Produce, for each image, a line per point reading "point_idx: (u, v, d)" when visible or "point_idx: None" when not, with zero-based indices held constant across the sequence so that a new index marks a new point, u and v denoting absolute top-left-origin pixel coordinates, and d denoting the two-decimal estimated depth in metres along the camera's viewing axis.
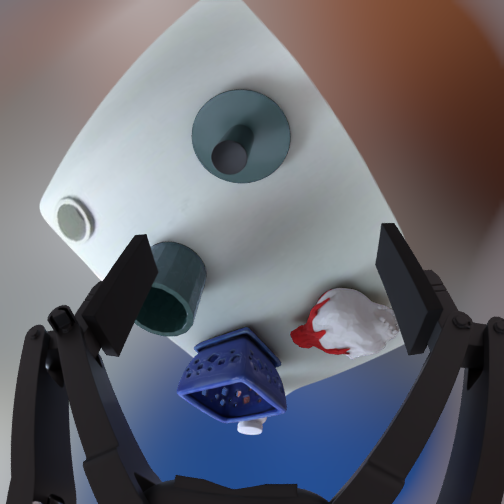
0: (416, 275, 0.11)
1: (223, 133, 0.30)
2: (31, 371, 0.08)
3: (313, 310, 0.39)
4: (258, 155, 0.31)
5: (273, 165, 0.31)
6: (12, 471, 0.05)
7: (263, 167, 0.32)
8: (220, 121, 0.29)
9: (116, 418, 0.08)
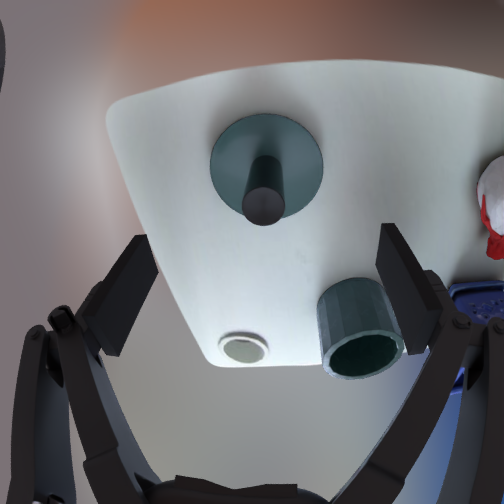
0: (416, 275, 0.11)
1: None
2: (31, 371, 0.08)
3: (483, 219, 0.24)
4: (295, 163, 0.26)
5: (315, 155, 0.26)
6: (12, 471, 0.05)
7: (311, 166, 0.26)
8: (238, 178, 0.28)
9: (116, 418, 0.08)
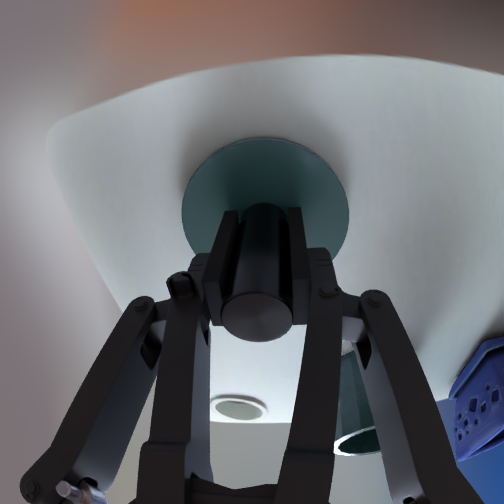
0: (297, 249, 0.13)
1: None
2: (121, 347, 0.09)
3: None
4: (308, 214, 0.18)
5: (338, 203, 0.17)
6: (54, 441, 0.06)
7: (331, 218, 0.18)
8: None
9: (200, 407, 0.08)
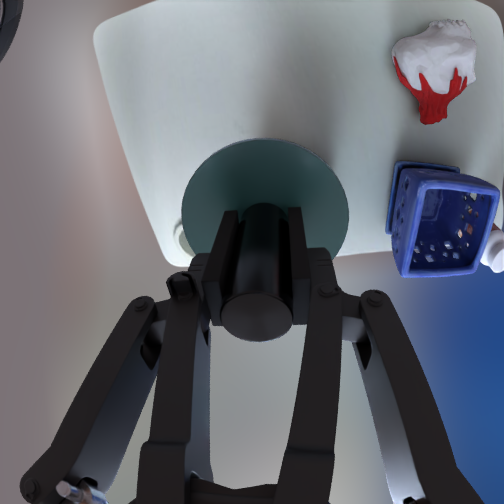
0: (297, 249, 0.13)
1: None
2: (121, 348, 0.09)
3: (400, 78, 0.27)
4: (308, 214, 0.18)
5: (338, 203, 0.17)
6: (54, 441, 0.06)
7: (331, 218, 0.18)
8: None
9: (200, 407, 0.08)
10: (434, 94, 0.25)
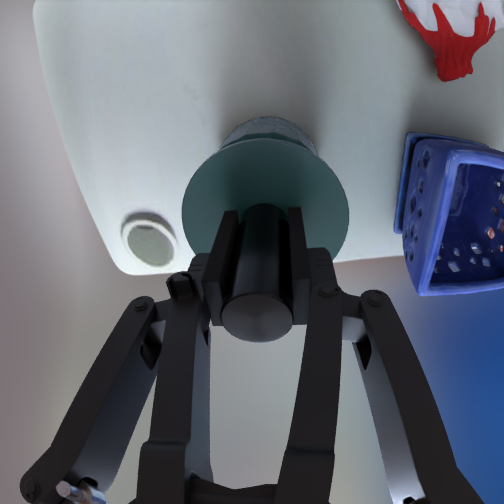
0: (297, 249, 0.13)
1: None
2: (121, 348, 0.09)
3: (407, 16, 0.16)
4: (308, 215, 0.18)
5: (338, 203, 0.17)
6: (54, 441, 0.06)
7: (332, 218, 0.18)
8: None
9: (200, 407, 0.08)
10: (455, 36, 0.14)
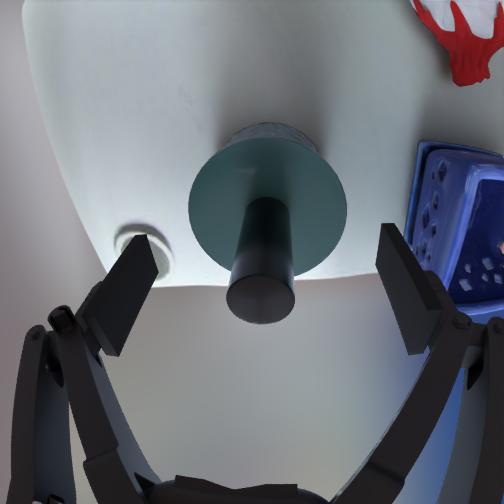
0: (416, 275, 0.11)
1: None
2: (31, 371, 0.08)
3: (422, 15, 0.14)
4: (308, 208, 0.19)
5: (336, 197, 0.18)
6: (12, 471, 0.05)
7: (330, 211, 0.19)
8: (228, 228, 0.20)
9: (116, 418, 0.08)
10: (473, 37, 0.12)
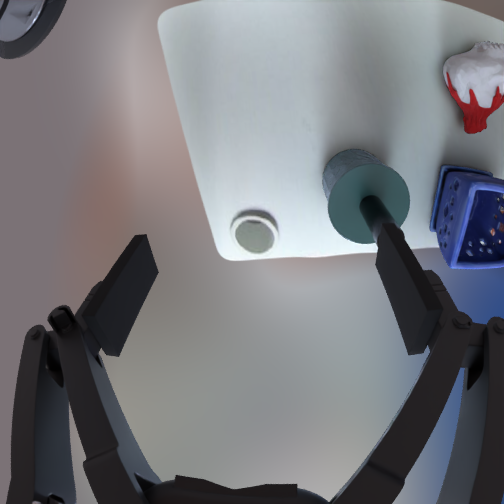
0: (416, 275, 0.11)
1: (359, 215, 0.34)
2: (31, 371, 0.08)
3: (451, 92, 0.28)
4: (391, 202, 0.33)
5: (405, 197, 0.32)
6: (12, 471, 0.05)
7: (402, 204, 0.33)
8: (349, 211, 0.34)
9: (116, 418, 0.08)
10: (479, 108, 0.26)
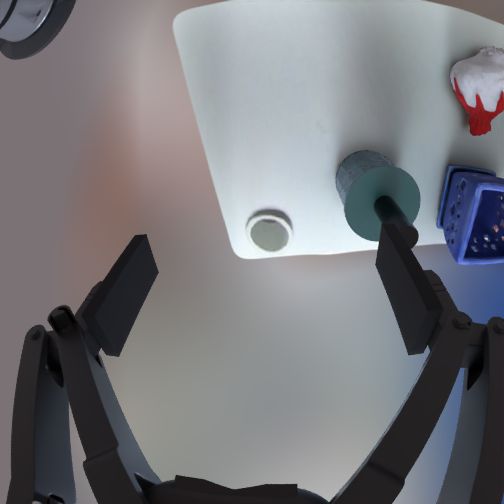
0: (416, 275, 0.11)
1: (373, 214, 0.35)
2: (31, 371, 0.08)
3: (458, 96, 0.29)
4: (403, 202, 0.34)
5: (416, 197, 0.33)
6: (12, 471, 0.05)
7: (413, 204, 0.34)
8: (364, 211, 0.35)
9: (116, 418, 0.08)
10: (484, 111, 0.27)
